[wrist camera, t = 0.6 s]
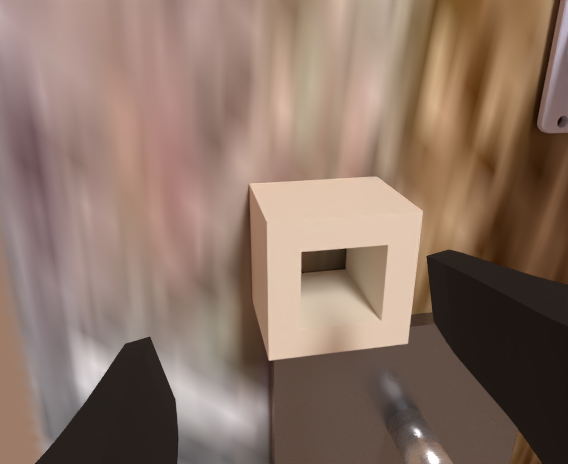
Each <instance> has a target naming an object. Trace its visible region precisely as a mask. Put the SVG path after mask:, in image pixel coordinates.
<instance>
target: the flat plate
mask: <svg viewBox="0 0 568 464" xmlns="http://www.w3.org/2000/svg"><path fill="white" fill-rule="evenodd" d="M270 363H271V446H272V464H510V462H511V457H512V453H513V449H514V444H515V440H516V436H517V432H518V428H517V427H516V426H515V424H514V423H513V422H512V421H511V419H510V418H509V417H508V416H507V415H506V413H505V412H504V411H503V410H502V409H501V408H500V406H499V405H498V404H497V403H496V402H495V401H494V400H493V398H492V397H491V396H490V395H489V394H488V393H487V391H486V390H485V389H484V388H483V387H482V386H481V384H480V383H479V382H478V381H477V380H476V379H475V377H474V376H473V375H472V374H471V373H470V372H469V370H468V369H467V368H466V367H465V366H464V365H463V363H462V362H461V361H460V360H459V359H458V357H457V356H456V355H455V354H454V353H453V351H452V350H451V348H450V347H449V345H448V344H447V342H446V341H445V339H444V338H443V336H442V334H441V333H440V331H439V329H438V328H437V326H436V325H435V323H434V321H433V313H424V314H415V315H411V320H410V329H409V338H408V344H401V345H393V346H385V347H377V348H368V349H360V350H352V351H344V352H336V353H327V354H319V355H311V356H303V357H294V358H286V359H278V360H270Z"/></svg>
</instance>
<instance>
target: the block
mask: <svg viewBox="0 0 568 464" xmlns="http://www.w3.org/2000/svg"><path fill="white" fill-rule="evenodd" d="M249 190H250V226H251V263H252V300H253V304H254V308H255V312H256V315H257V319H258V323H259V327H260V330H261V334H262V338H263V341H264V345H265V349H266V352H267V356H268V360H269V361H270V360H278V359H286V358H294V357H303V356H311V355H319V354H327V353H336V352H344V351H352V350H360V349H368V348H377V347H385V346H393V345H401V344H408V338H409V329H410V320H411V311H412V303H413V294H414V285H415V276H416V268H417V259H418V250H419V241H420V233H421V224H422V215H423V211H422V210H421V209H419V208H418V207H417V206H415V205H414V204H413V203H411V202H410V201H409V200H407V199H406V198H405V197H403V196H402V195H401V194H399V193H398V192H397V191H395V190H394V189H393V188H391V187H390V186H389V185H387V184H386V183H385V182H383V181H382V180H381V179H379V178H378V177H359V178H341V179H324V180H306V181H288V182H270V183H253V184H249ZM344 248H347V253H346V269H342V270H331V271H320V272H309V273H301V252H307V251H320V250H332V249H344Z"/></svg>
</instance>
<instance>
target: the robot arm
mask: <svg viewBox="0 0 568 464" xmlns="http://www.w3.org/2000/svg"><path fill="white" fill-rule="evenodd" d="M560 117H562V121H561V123H560V124H559V125H557V122H558V119H559V118H560ZM537 126H538V129H539V130H540V131H542V132H545V133H568V0H561V1H560V6H559V11H558V16H557V22H556V27H555V32H554V37H553V42H552V47H551V53H550V58H549V63H548V68H547V73H546V78H545V84H544V89H543V94H542V99H541V104H540V110H539V115H538V120H537ZM427 264H428V274H429V283H430V293H431V302H432V312H433V321H434V323H435V325H436V326H437V328H438V329H439V331H440V333H441V334H442V336H443V338H444V339H445V341H446V342H447V344H448V345H449V347H450V348H451V350H452V351H453V353H454V354H455V355H456V356H457V357H458V359H459V360H460V361H461V362H462V363H463V365H464V366H465V367H466V368H467V369H468V370H469V372H470V373H471V374H472V375H473V376H474V377H475V379H476V380H477V381H478V382H479V383H480V384H481V386H482V387H483V388H484V389H485V390H486V391H487V393H488V394H489V395H490V396H491V397H492V398H493V400H494V401H495V402H496V403H497V404H498V405H499V406H500V408H501V409H502V410H503V411H504V412H505V413H506V415H507V416H508V417H509V418H510V419H511V421H512V422H513V423H514V424H515V426H516V427H517V428H518V430H519V431H520V432H521V433H522V435H523V436H524V438H525V439H526V441H527V442H528V443H529V445H530V446H531V448H532V449H533V451H534V452H535V454H536V455H537V456H538V458H539V459H540V461H541V462H542V464H568V285H566V284H562V283H558V282H554V281H550V280H547V279H543V278H539V277H536V276H532V275H529V274H526V273H522V272H519V271H516V270H513V269H510V268H507V267H503V266H500V265H497V264H494V263H491V262H488V261H485V260H482V259H479V258H476V257H473V256H470V255H467V254H464V253H460V252H457V251H453V250H446V251H442V252H439V253H435V254H432V255H429V256H427ZM177 457H178V424H177V412H176V401H175V398H174V395H173V393H172V390H171V388H170V385H169V383H168V380H167V378H166V375H165V373H164V370H163V368H162V365H161V363H160V360H159V358H158V355H157V353H156V350H155V348H154V345H153V343H152V340H151V338H150V337H147V338H144V339H140V340H137V341H133V342H130V343H127V344H125V345H124V346H123V348H122V349H121V351H120V352H119V354H118V355H117V356H116V358H115V359H114V361H113V362H112V364H111V365H110V367H109V369H108V370H107V372H106V373H105V374H104V376H103V377H102V379H101V380H100V382H99V383H98V385H97V386H96V388H95V389H94V390H93V392H92V393H91V395H90V396H89V398H88V399H87V401H86V402H85V403H84V405H83V406H82V407H81V408H80V410H79V411H78V412H77V414H76V415H75V416H74V418H73V419H72V420H71V421H70V423H69V424H68V425H67V427H66V428H65V429H64V431H63V432H62V433H61V434H60V436H59V437H58V438H57V439H56V441H55V442H54V443H53V444H52V445H51V446H50V448H49V449H48V450H47V451H46V452H45V453H44V454H43V455H42V457H41V458H40V459H39V460H38V461H37V462H36V463H35V464H177Z"/></svg>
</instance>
